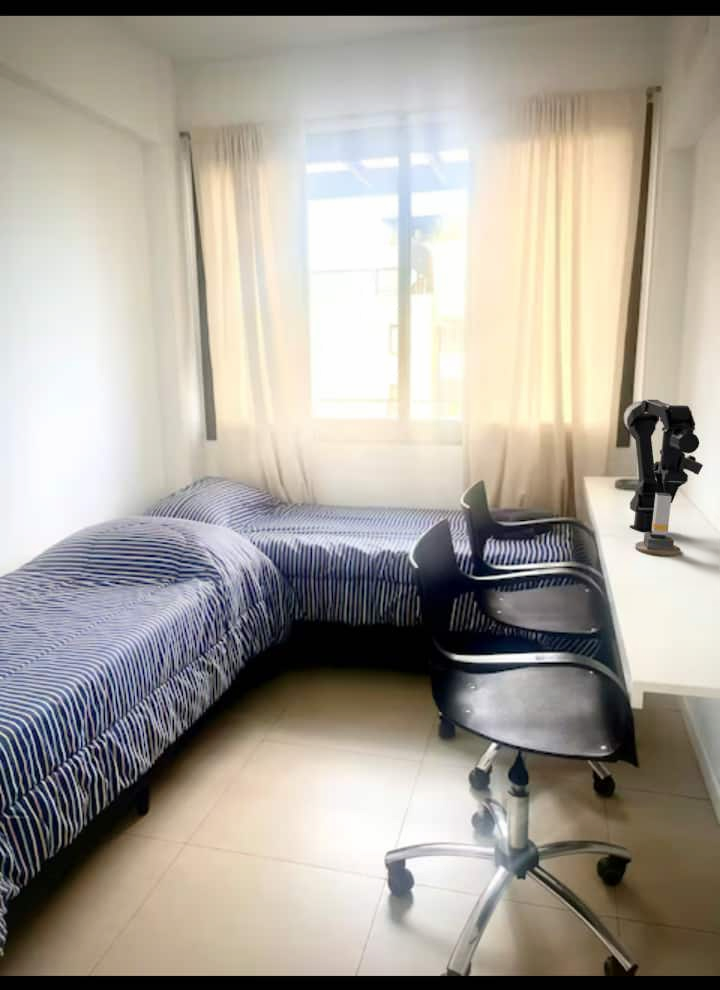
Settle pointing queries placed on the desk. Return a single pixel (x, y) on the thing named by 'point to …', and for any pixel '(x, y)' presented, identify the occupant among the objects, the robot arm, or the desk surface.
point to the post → (661, 513)
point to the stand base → (658, 545)
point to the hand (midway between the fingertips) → (666, 499)
